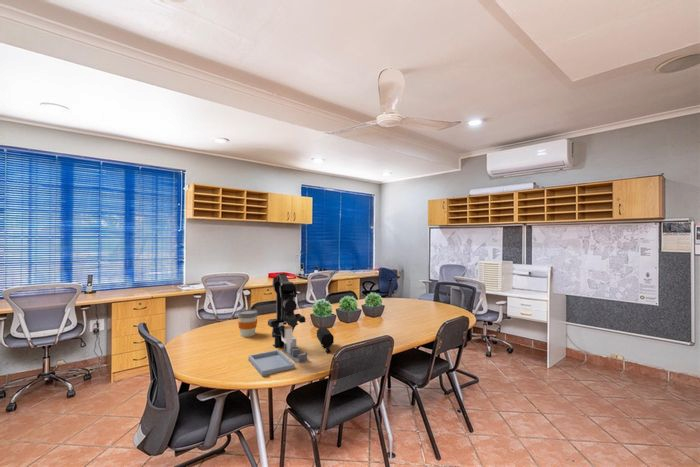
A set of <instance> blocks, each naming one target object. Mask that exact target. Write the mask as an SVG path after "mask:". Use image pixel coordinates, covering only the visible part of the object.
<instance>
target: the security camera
mask: <svg viewBox="0 0 700 467" xmlns="http://www.w3.org/2000/svg"><path fill="white" fill-rule="evenodd" d="M316 339H318V341H319V343H320V344H321V346H322V348H323V349H326V350H325V351H324V352H325V353H326V354H328V353H329V354H330V353H332V351H331V350H330V347H332V346H333V344H334V341H335V340H334V339H335V338H334V335H333V334H332V332H331V331H330V330H329V329H328V328H327V327H326V326H323V327H321V326H320V327H319V328H317V330H316Z"/></svg>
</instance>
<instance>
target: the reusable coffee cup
mask: <svg viewBox="0 0 700 467" xmlns="http://www.w3.org/2000/svg"><path fill="white" fill-rule="evenodd" d="M258 314H259V313H258V310H256V309H243V310H242V309H241V310H239V311H238V312H237V319H238V321H237V323H238V324H237V325H238V329H239V334H240V337H244V338H248V337H250V338H251V337H253V336H255V335H256V327H258V326H257V324H258Z"/></svg>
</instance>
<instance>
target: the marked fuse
mask: <svg viewBox="0 0 700 467" xmlns="http://www.w3.org/2000/svg"><path fill="white" fill-rule="evenodd" d="M284 326H285V327H284V338H283V337H282V341H283V342H284V344H285V343H286V344H287V343H292V336H293V333H292V328H293V327H292V326H290V325H288V324H285V325H284Z"/></svg>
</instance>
